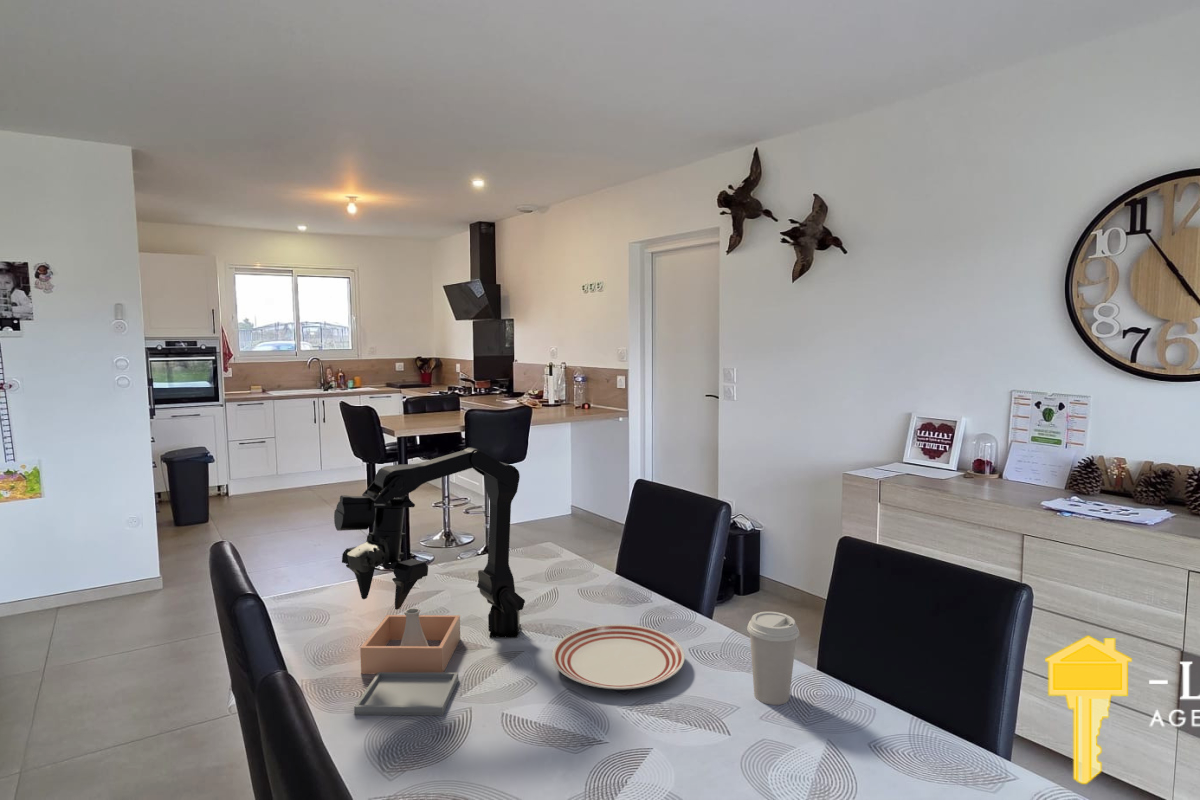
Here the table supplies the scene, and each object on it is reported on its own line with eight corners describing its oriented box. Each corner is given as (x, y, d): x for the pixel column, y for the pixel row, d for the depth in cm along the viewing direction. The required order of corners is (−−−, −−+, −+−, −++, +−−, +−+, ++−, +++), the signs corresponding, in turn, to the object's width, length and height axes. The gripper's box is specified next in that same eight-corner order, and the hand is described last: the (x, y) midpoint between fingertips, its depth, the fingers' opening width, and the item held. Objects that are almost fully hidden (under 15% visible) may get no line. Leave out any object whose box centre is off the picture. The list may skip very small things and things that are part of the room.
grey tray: (458, 679, 137) (458, 672, 137) (442, 715, 124) (442, 707, 124) (378, 679, 137) (378, 672, 137) (354, 714, 124) (354, 706, 124)
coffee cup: (769, 714, 124) (770, 634, 123) (735, 690, 133) (736, 615, 131) (808, 701, 129) (810, 624, 127) (773, 679, 137) (775, 606, 136)
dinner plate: (689, 703, 129) (689, 686, 128) (544, 699, 130) (544, 682, 130) (680, 639, 156) (680, 625, 156) (560, 636, 157) (560, 622, 157)
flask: (421, 665, 143) (420, 618, 143) (389, 661, 145) (388, 616, 144) (436, 649, 150) (435, 605, 150) (405, 646, 152) (404, 603, 151)
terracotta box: (460, 638, 156) (459, 615, 155) (442, 674, 139) (442, 648, 139) (387, 638, 156) (386, 615, 156) (361, 673, 140) (360, 647, 139)
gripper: (324, 525, 138) (316, 602, 138) (393, 543, 129) (385, 625, 130) (366, 518, 148) (359, 590, 148) (433, 534, 139) (425, 611, 140)
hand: (380, 603), depth 141 cm, fingers open, 9 cm apart
